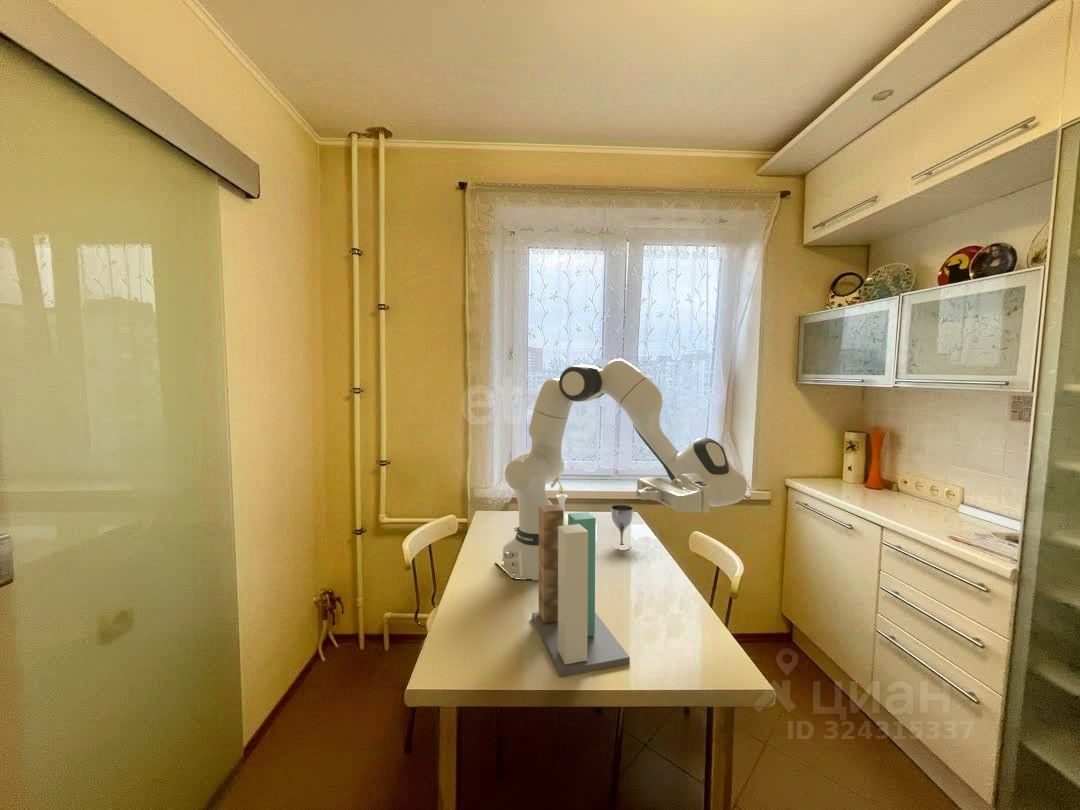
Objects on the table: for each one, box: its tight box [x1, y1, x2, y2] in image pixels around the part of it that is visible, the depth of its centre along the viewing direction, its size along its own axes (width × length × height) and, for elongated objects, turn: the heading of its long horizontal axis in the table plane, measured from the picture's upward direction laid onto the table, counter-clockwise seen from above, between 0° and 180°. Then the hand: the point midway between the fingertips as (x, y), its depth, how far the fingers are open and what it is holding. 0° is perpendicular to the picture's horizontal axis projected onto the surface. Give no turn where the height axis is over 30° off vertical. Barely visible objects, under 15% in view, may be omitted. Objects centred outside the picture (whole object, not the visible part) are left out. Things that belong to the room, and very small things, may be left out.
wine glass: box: [610, 504, 634, 545], centre depth 159 cm, size 8×8×15 cm
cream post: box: [558, 524, 588, 665], centre depth 91 cm, size 5×5×28 cm
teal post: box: [567, 511, 597, 637], centre depth 101 cm, size 5×5×28 cm
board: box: [531, 611, 631, 678], centre depth 101 cm, size 16×23×2 cm
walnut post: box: [538, 504, 565, 623], centre depth 107 cm, size 5×5×28 cm
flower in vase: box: [550, 474, 568, 525], centre depth 179 cm, size 13×11×25 cm
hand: (638, 494), depth 104 cm, fingers closed
